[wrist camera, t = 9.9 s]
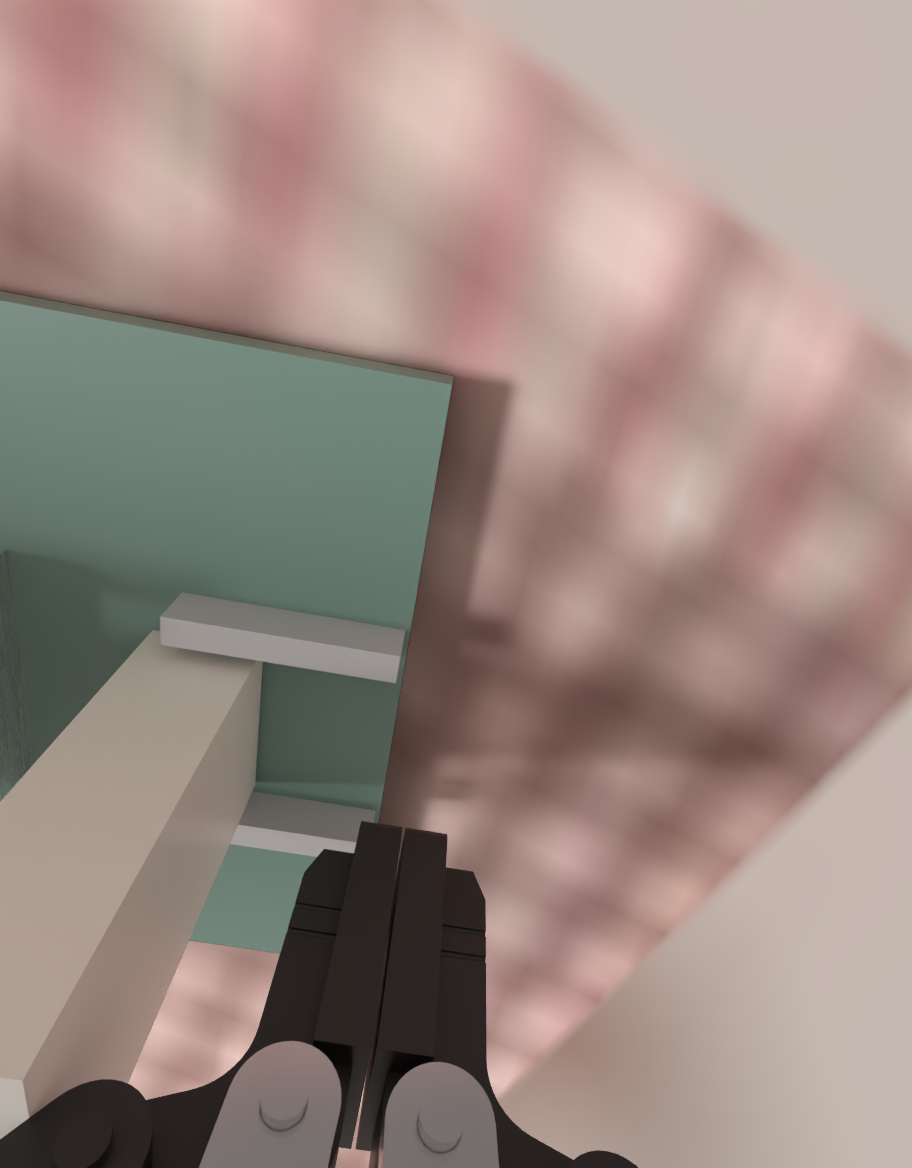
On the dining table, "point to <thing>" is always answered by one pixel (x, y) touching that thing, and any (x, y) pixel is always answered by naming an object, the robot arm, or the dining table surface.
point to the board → (222, 553)
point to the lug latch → (116, 865)
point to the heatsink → (11, 691)
